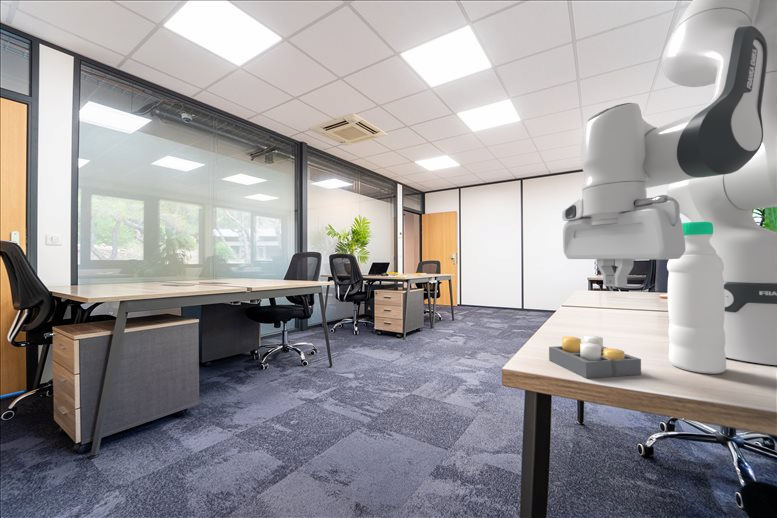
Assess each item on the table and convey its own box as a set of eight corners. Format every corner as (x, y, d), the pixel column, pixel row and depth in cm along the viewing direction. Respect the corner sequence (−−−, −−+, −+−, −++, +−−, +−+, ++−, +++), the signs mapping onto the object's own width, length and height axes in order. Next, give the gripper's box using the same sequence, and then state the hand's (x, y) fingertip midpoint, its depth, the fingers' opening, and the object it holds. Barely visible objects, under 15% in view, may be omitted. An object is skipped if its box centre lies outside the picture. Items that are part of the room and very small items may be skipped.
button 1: (572, 350, 59) (572, 336, 59) (584, 355, 56) (584, 340, 56) (558, 351, 58) (558, 336, 58) (570, 356, 55) (569, 340, 55)
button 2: (591, 358, 54) (591, 342, 54) (605, 363, 51) (605, 347, 51) (576, 359, 54) (576, 343, 54) (589, 364, 51) (589, 348, 51)
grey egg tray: (596, 357, 60) (596, 344, 60) (641, 374, 51) (640, 359, 51) (549, 360, 59) (549, 346, 59) (586, 378, 50) (586, 362, 50)
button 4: (614, 363, 55) (613, 347, 55) (629, 369, 52) (628, 352, 52) (599, 364, 55) (599, 348, 55) (613, 370, 52) (613, 353, 52)
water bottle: (700, 361, 57) (697, 224, 57) (739, 375, 50) (736, 219, 50) (658, 360, 58) (656, 225, 58) (691, 374, 51) (688, 220, 51)
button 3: (594, 349, 59) (593, 335, 59) (606, 354, 56) (606, 339, 56) (580, 350, 59) (580, 335, 59) (592, 354, 56) (592, 339, 56)
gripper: (697, 192, 43) (699, 292, 44) (584, 213, 64) (586, 281, 64) (657, 191, 43) (660, 294, 43) (556, 213, 63) (557, 282, 63)
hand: (614, 286), depth 53 cm, fingers closed
